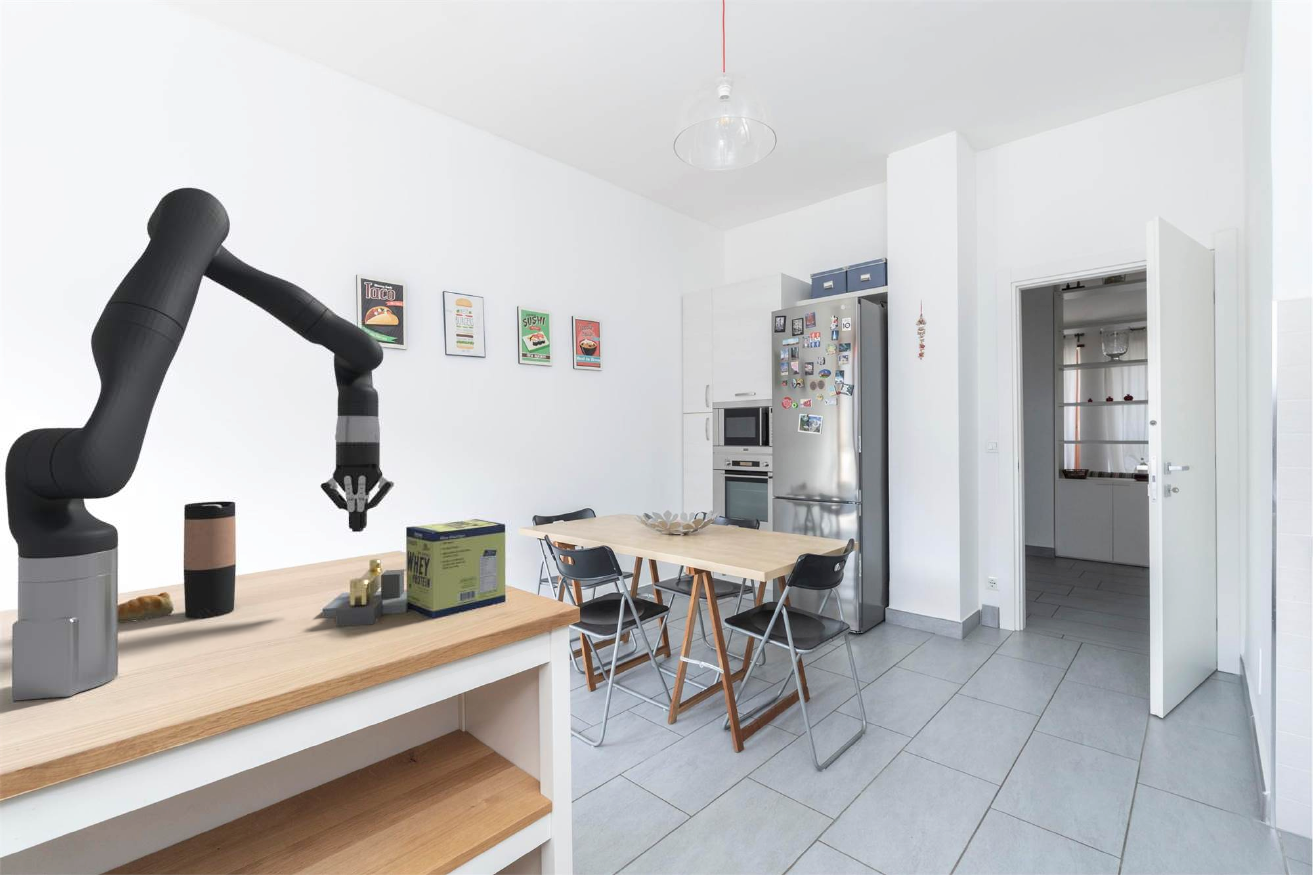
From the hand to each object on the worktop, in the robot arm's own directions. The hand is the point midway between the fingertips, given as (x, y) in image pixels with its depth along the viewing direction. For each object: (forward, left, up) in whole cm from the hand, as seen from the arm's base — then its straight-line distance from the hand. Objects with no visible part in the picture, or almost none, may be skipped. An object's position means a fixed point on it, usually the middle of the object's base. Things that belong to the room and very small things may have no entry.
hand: (357, 531), depth 113 cm
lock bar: (-4, -3, -11) cm, 12 cm away
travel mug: (0, +25, -14) cm, 29 cm away
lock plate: (-4, -3, -14) cm, 15 cm away
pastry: (+1, +36, -15) cm, 39 cm away
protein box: (-3, -19, -15) cm, 24 cm away
